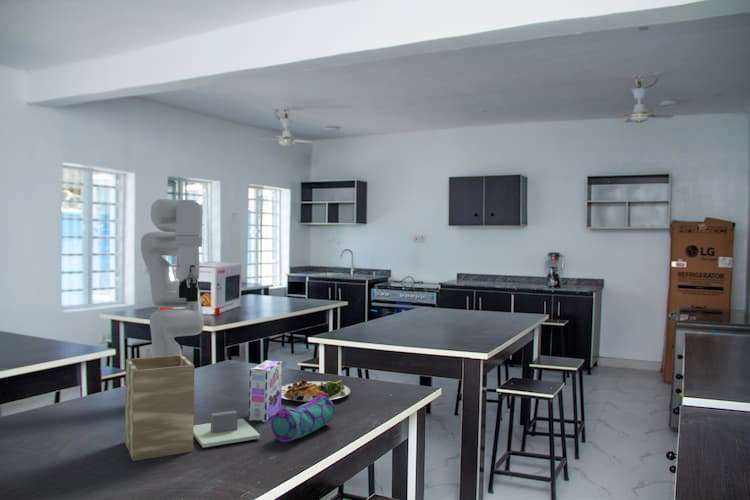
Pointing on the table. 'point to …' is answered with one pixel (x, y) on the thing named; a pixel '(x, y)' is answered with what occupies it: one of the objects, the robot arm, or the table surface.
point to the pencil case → (302, 419)
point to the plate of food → (314, 390)
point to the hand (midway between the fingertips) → (188, 299)
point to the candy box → (265, 390)
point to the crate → (159, 406)
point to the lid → (224, 430)
